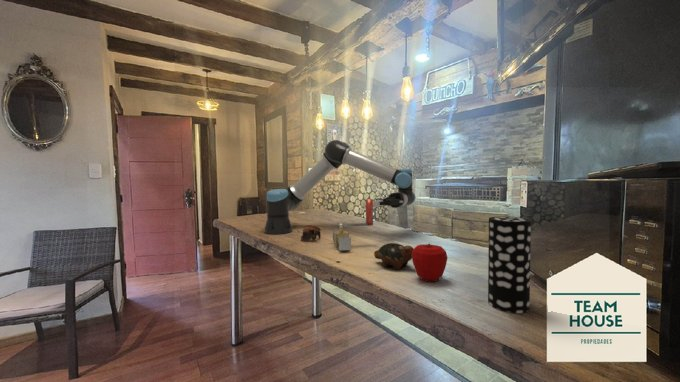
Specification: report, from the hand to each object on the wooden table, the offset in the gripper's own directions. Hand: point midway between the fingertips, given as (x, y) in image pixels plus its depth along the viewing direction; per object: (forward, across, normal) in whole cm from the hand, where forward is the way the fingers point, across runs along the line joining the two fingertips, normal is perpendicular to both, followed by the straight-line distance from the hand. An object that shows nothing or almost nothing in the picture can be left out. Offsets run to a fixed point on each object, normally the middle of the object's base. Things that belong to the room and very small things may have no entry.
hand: (374, 204), depth 129 cm
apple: (+31, -35, -18) cm, 50 cm away
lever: (+8, +5, -9) cm, 13 cm away
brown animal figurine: (+10, +29, -18) cm, 36 cm away
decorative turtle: (+25, -21, -18) cm, 37 cm away
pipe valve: (+13, +9, -18) cm, 24 cm away
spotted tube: (+37, -56, -18) cm, 69 cm away
